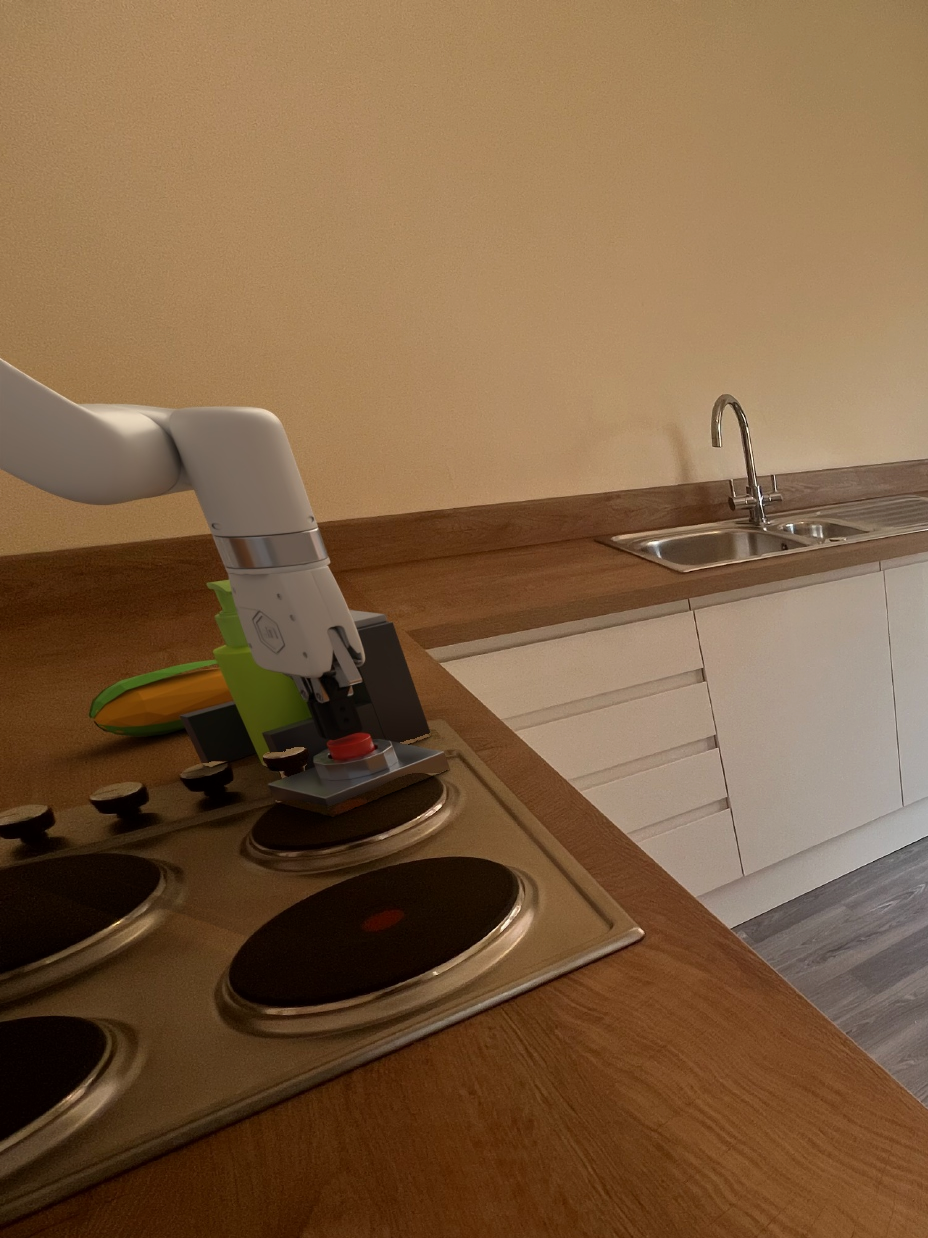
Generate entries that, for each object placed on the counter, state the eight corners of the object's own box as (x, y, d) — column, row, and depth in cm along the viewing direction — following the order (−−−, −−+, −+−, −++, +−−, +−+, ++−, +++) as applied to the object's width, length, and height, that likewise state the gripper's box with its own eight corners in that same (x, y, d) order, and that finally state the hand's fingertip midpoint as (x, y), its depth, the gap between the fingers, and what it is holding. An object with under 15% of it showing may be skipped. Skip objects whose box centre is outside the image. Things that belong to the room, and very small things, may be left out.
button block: (332, 818, 82) (317, 780, 80) (275, 803, 85) (259, 767, 83) (450, 769, 92) (439, 736, 90) (395, 758, 95) (383, 725, 93)
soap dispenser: (278, 774, 91) (198, 590, 82) (253, 761, 94) (174, 583, 86) (341, 756, 95) (272, 579, 87) (315, 744, 99) (246, 573, 90)
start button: (347, 764, 84) (341, 748, 84) (324, 759, 86) (318, 743, 85) (383, 750, 88) (378, 735, 87) (361, 746, 89) (355, 730, 88)
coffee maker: (293, 787, 88) (234, 651, 82) (203, 765, 93) (141, 636, 87) (433, 736, 101) (391, 614, 94) (346, 719, 106) (301, 603, 100)
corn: (58, 682, 96) (258, 637, 113) (88, 742, 100) (278, 690, 116) (94, 693, 94) (294, 646, 111) (124, 755, 97) (313, 700, 114)
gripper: (177, 552, 77) (254, 737, 85) (279, 564, 72) (351, 759, 80) (270, 540, 83) (334, 713, 91) (369, 550, 79) (428, 732, 86)
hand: (342, 734), depth 86 cm, fingers closed
